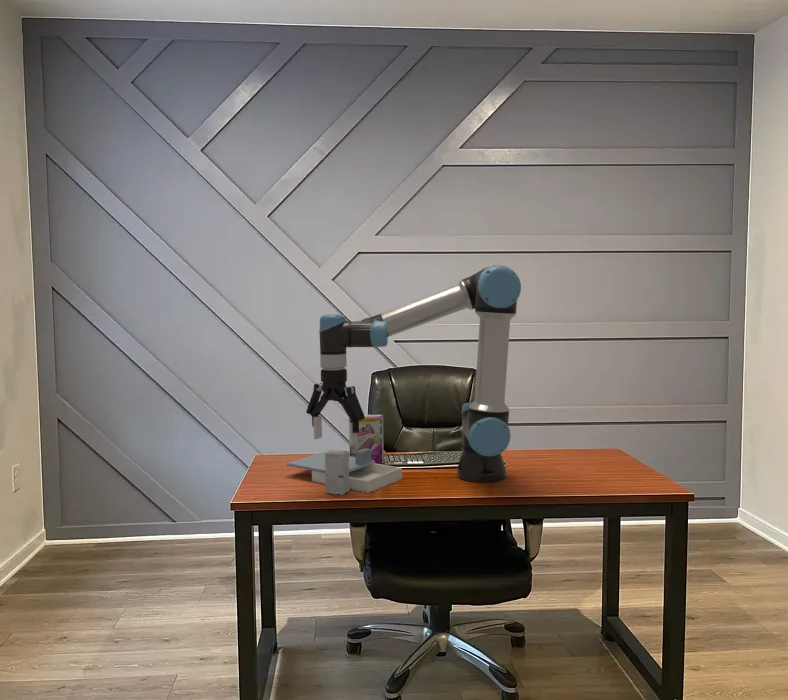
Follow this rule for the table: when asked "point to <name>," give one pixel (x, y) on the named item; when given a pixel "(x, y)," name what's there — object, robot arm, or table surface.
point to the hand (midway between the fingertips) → (335, 441)
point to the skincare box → (337, 472)
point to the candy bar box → (370, 437)
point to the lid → (318, 461)
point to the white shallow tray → (367, 477)
